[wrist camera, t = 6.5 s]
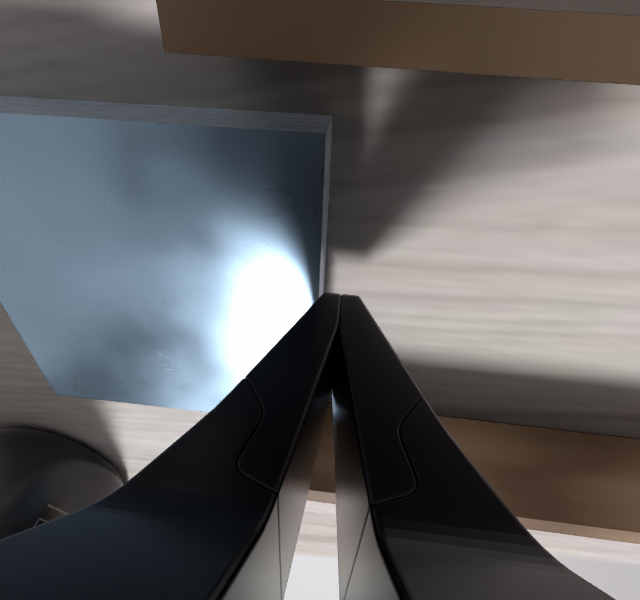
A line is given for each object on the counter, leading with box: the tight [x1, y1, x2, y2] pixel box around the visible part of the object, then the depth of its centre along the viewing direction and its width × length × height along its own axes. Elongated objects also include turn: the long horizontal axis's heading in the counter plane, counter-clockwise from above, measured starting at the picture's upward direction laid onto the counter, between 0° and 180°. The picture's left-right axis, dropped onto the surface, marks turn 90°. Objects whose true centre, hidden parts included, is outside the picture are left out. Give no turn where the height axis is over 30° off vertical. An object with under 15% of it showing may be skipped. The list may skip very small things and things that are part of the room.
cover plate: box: [0, 96, 333, 412], centre depth 10 cm, size 8×8×2 cm
